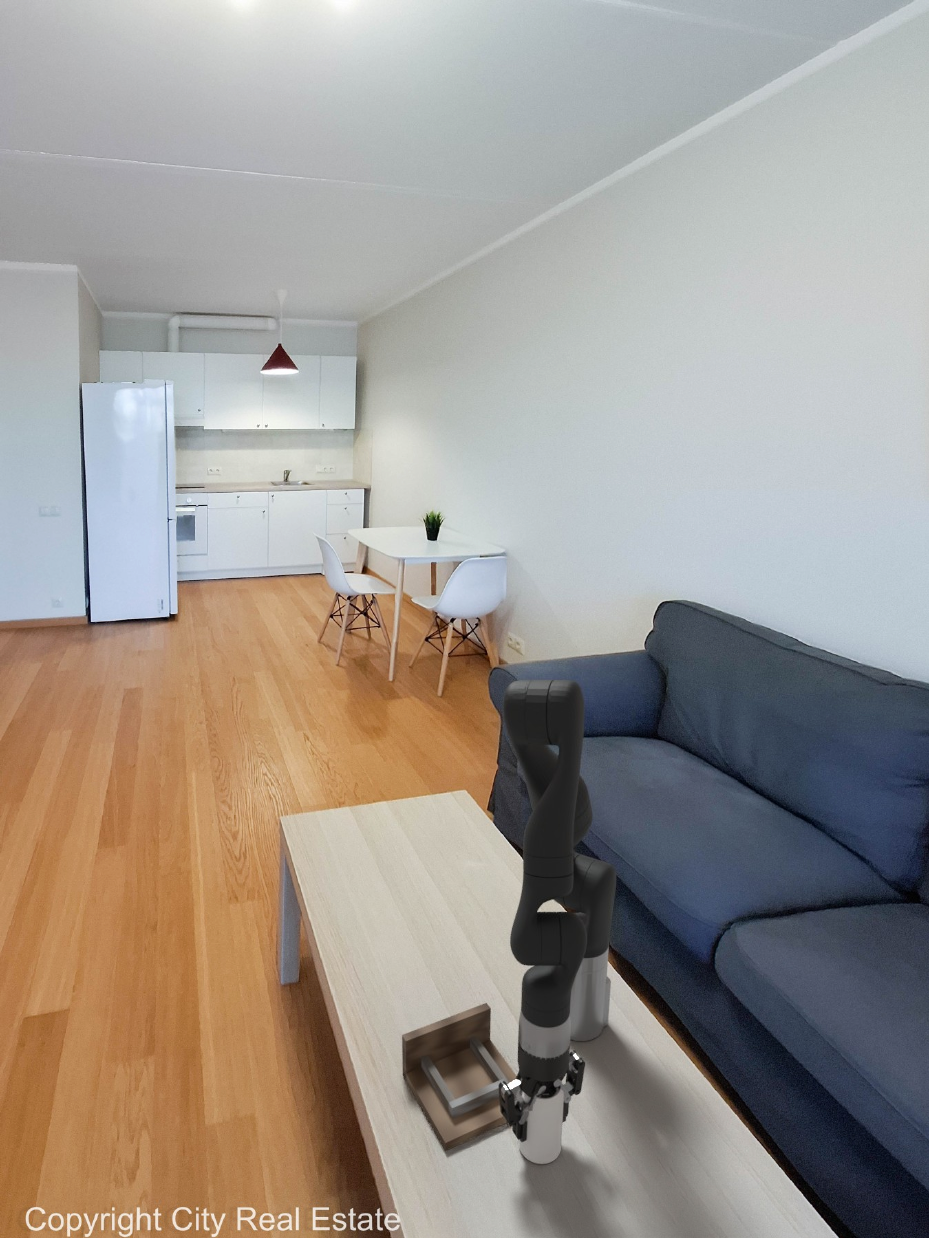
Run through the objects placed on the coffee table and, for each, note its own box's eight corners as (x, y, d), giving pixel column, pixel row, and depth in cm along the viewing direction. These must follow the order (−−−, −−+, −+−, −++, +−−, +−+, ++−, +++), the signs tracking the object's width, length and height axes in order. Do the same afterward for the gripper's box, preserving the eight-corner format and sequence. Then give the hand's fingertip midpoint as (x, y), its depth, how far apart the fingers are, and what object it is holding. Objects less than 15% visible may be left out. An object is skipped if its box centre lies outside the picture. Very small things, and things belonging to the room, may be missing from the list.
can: (557, 1127, 125) (560, 1064, 122) (564, 1165, 119) (567, 1100, 116) (516, 1128, 125) (518, 1065, 122) (520, 1166, 119) (522, 1101, 115)
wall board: (485, 1040, 142) (486, 1002, 140) (534, 1108, 128) (536, 1068, 126) (402, 1074, 135) (402, 1034, 133) (445, 1150, 121) (445, 1108, 119)
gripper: (570, 1002, 123) (565, 1090, 127) (488, 1035, 116) (486, 1127, 121) (600, 1035, 117) (594, 1127, 121) (515, 1072, 110) (512, 1168, 114)
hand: (540, 1127), depth 121 cm, fingers closed on can, 6 cm apart
